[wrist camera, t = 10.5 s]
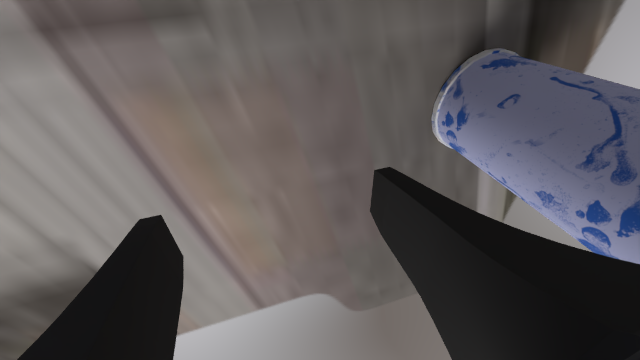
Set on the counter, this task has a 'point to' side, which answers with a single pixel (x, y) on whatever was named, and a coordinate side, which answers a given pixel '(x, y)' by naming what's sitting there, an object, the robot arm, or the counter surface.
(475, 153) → the aerosol can
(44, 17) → the counter surface
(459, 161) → the counter surface
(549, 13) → the counter surface
